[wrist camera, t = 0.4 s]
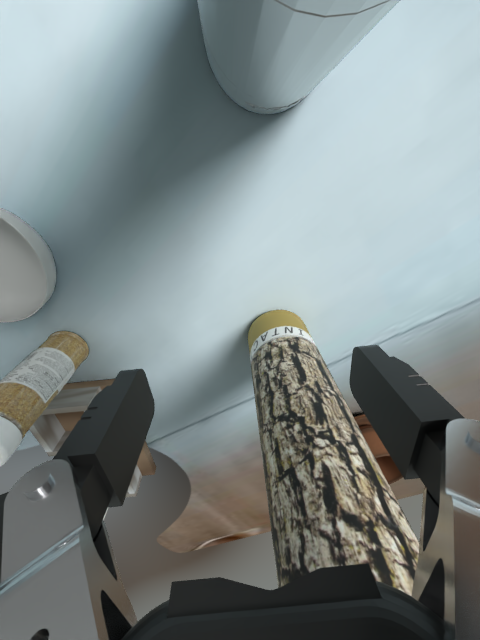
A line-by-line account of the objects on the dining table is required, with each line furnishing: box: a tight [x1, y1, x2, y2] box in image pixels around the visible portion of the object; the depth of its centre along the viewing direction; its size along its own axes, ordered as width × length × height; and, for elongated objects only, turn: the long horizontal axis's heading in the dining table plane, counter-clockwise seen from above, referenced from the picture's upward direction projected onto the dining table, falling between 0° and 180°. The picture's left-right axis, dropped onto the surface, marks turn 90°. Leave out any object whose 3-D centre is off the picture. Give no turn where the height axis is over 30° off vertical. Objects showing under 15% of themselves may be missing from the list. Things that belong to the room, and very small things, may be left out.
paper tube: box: [248, 310, 419, 596], centre depth 19 cm, size 7×7×25 cm
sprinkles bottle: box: [0, 331, 89, 467], centre depth 24 cm, size 5×4×14 cm
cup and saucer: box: [354, 414, 403, 484], centre depth 37 cm, size 12×12×6 cm
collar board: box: [29, 379, 156, 497], centre depth 35 cm, size 19×12×4 cm, turn 5°
